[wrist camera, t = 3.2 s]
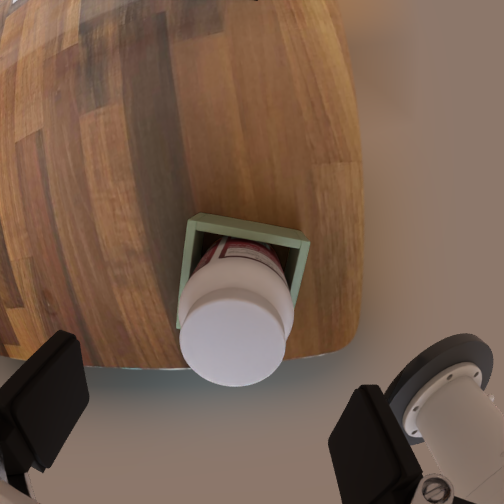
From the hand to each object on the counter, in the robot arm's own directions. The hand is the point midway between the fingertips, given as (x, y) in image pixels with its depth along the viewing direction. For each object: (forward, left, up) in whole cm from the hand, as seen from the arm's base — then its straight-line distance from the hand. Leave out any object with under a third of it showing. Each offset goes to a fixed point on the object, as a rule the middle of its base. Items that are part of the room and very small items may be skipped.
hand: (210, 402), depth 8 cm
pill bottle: (0, 0, -15) cm, 15 cm away
